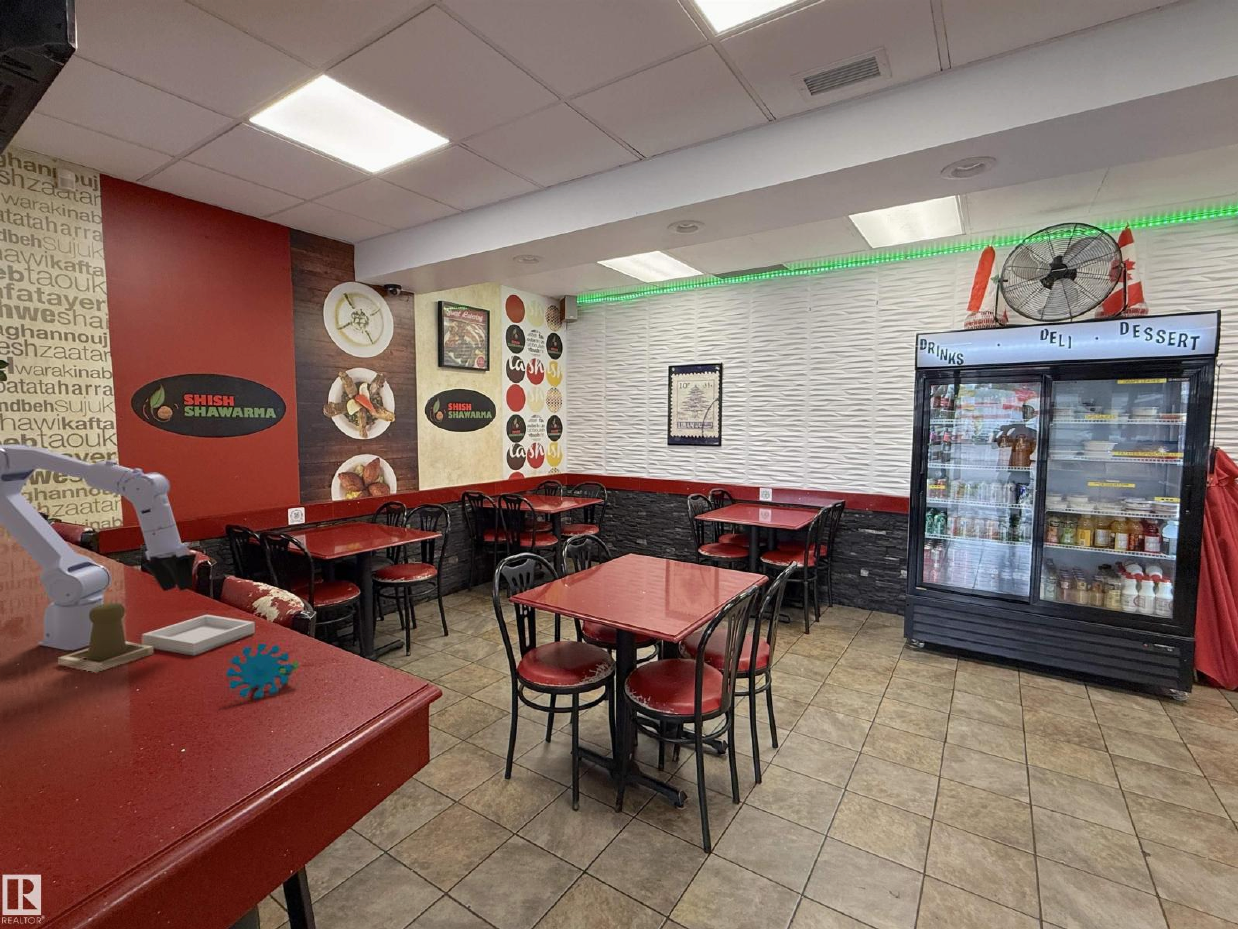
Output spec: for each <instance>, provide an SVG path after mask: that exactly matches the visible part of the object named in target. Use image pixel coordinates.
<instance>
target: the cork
mask: <svg viewBox="0 0 1238 929" xmlns="http://www.w3.org/2000/svg"><path fill="white" fill-rule="evenodd" d="M125 614H126V608H125V606H124V605H123V604H122V603H120V602H107V603H103V604H101V605H97V606H95V607H93V608H92V609H91V611H90V613H89V618H90V621H91V622H92V623H93V627H92V632H91V638H90V644H89V646H88V648H89V649H88V648H87V649H88V655H87V658H86V660H88V661H93V662H98V663H99V662H102V661H105V660H108V659H111V658H114V657H117V656H120V655H123V654H126V653H128V652H127V649H126V643H125V641H126V639H125V632H124V626H123V621H122V619H123V618H124V616H125Z"/></svg>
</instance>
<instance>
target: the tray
mask: <svg viewBox="0 0 1238 929" xmlns="http://www.w3.org/2000/svg"><path fill="white" fill-rule="evenodd" d="M255 623H256V621H250V620H244V619H238V618H232V617H225V616H224V617H223V616H218V615H212V614H204V615H200V616H197V617H194V618H190V619H188V620H183V621H180V622H178V623H175V624H171V625H167V626H164V627H161V628H159V629H155V630H151V631H148V632H145V633H142V634H141V644H143V645H148V646H154V649H155V650H161V651H167V652H173V653H178V654H184V655H190V656H193V657H194V656H196V655H200V654H202V653H205V652H207V651H210V650H213V649H216V648H218V647H221V646H224V645H226V644H229V643H231V642H234V641H238V640H239V639H242V638H245V637H247V636H250V635H253V634H255V632H256V630H255V629H256V628H255V625H256V624H255Z"/></svg>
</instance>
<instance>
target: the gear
mask: <svg viewBox="0 0 1238 929" xmlns="http://www.w3.org/2000/svg"><path fill="white" fill-rule="evenodd" d="M266 648H267V644H265V643H260V642H259V643H258V645H257V648H256V649H257V652H256V653H255V655H254V656H251V655H250V654H251V653H252V647H251V646H247V647H244V648H243V649H242V650H241V652H242V653H241V654H242V655H243V656H244V657H245V662H241V656H240V655H235V656H233V657H232V658H231V659H230V664H232V665H234V666H237V667H238V668H239V669H240V671H236V669H235V668H234V667H229V668H228V669H227V672H226V674H225V676H226V677H227V678H231V677H238V678H240V679H241V680H240V681H239V680H237V679H232V680H230V681H229V683H228V686H229V689H230V690H234V689H236V688H238V687H239V686H244V685H248V687H245V688H244V687H243V688H241V689H240V690H239V692H238V695H239V696H240V697H241V698H246V697H247V696H248V695H249V693H250V691H251V690H252V689H255V688H257V687H258V688H259V689H258V690H256V691H255V692H254V694H253V698H254V699H258V698H260V699H262V698H263V696H264V689H265V687H266V685H270V688H269V690H268V694H269V695H273V694H277V693H278V691H279V687H278V686H277V685H276V683H275V679H278V678H279V684H281V685H285V684H286V683H288V681H289V679H290V676H291V675H292V673H293V671H297V669H298V667H299V665H300V663H299V661H294V662H293V663H288V664H287V663H286V664H282V663H279V662H278V661H282V662H287V661H288V660H289V658H290V655H289V653H288V652H284V653H283V654H281V655H278V656H272V655H274V654H275V655H276V654H278V653H279V652H280V649H281V648H280V647H279V646H278V645H277V644H274V645H273V646H272V647H271V649H270V650H269V651H268V652H266V653H264V654H263V653H262V652H263V651H264V652H265V650H266ZM276 692H277V693H276Z"/></svg>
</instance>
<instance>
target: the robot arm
mask: <svg viewBox="0 0 1238 929" xmlns="http://www.w3.org/2000/svg"><path fill="white" fill-rule="evenodd" d="M39 469H40V470H45V471H49V472H53V473H58V474H61V475H66V476H71V477H74V478H75V477H76V478H79V479H83V480H84V481H85V483H86V485H87V486H88V487H90V488H94V489H96V490H100V491H104V492H108V493H112V494H116V495H119V496H122V497H124V499H126V500H127V501H129V502H130V503H131V504H132V506H133V509H134V510H135V513H136V517H137V520H138V523H139V526H140V529H141V532H142V536H143V539H144V543H145V547H146V549H147V550H146V551H144V554H145V556H146V560H148V562H147V561H146V562H144V563H142V564H141V565H142V567H143V568H144V569H145V570H147V571H148V572H149V573H150V574H151V575H152V576H153V578H154V579H155V581H156V582H157V584H158V585H159V587H160V588H161V590H162V591H163V592H166V591H169V590H172V589H175V588H176V587H177V588H178V589H179V591H184V590H187V589H190V588H193V585H194V584H193V582H194V581H193V578H194V577H193V574H194V573H193V569H194V563H195V560H196V558H197V554H196V553H190V551H189V548H188V547H189V546H190V544H189V542H182V540H181V537H180V533H179V531H178V530H179V529H178V526H177V523H176V520H175V516H174V514H173V510H172V507H171V504H170V500H169V497H168V494H169V492H170V489H171V485H170V484H171V483H170V481H169V479H168V478H167V477H166V476H165V475H163V474H161V473H158V472H156V471H155V472H154V471H153V472H147V473H144V472H143V469H141V468H129V467H125V466H123V465H119V464H118V461H116V460H112V459H109V460H106V461H105V460H101V461H97V462H95V463H93V464H92V463H90V462H86V461H83V460H80V459H77V458H75V457H72V456H71V457H70V456H68V455H65V454H62V453H59V452H56V451H53V450H48V449H46V448H43V447H41V446H33V445H32V446H31V445H30V444H26V443H16V444H0V525H1V526H2V527H3V528H4V529H5V530H6V532H8V533H9V534H10V536H12V538H13V539H15V541H16V542H17V543H18V544H19V545H20V546H21V547H22V548H23V549H24V550H25V551H26V552H27V553H28V555H29V556H31V558H32V559H33V560H34V561H35V562H36V563H37V564H38V565H39V566H40V567H41V568H42V570H41V573H40V576H39V578H38V581H39V582H40V583H41V584H42V586H44V590H45V594H46V596H47V598H48V599H49V600H50V601H51V602H50V603H49V604H48V606H47V607H46V608H45V611H44V613H43V641H39V642H38V645H39V646H43V647H48V648H54V649H60V650H63V651H68V650H72V651H75V650H78V649H82V648H85V647H89V644H90V638H91V632H92V627H93V623H92V622H91V621H90V618H89V613H90V611H91V609H92V608H93V607H95V606H97V605H101V604H104V595H105V590H106V589H107V588H108V587H109V586H110V585H111V582H112V574H111V572H110V571H109V570H108V568H107V567H105V566H104V565H102V564H99V563H97V562H95V561H94V560H93V559H92V558H91V557H89V556H87V555H84V554H80V553H78V552H75V550H73V548H71V546H70V545H69V544H68V543H67V541H65V540H64V539H63V538H62V537H61V535H59V533H57V531H56V530H55V529H54V528H53V527H52V526H51V524H49V522H47V520H46V519H45V518H44V517H43V516H42V515H41V513H39V512H38V511H37V510H36V509H35V507H34V506H33V505H32V504H31V503H30V502H29V501H28V500H27V499H26V498H25V497H24V496H23V494H22V490H23V487H24V486H25V484H26V483H27V482H28V480H29V479H30V478H31V476H32V475H33V474H34V473H35V471H36V470H39Z"/></svg>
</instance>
